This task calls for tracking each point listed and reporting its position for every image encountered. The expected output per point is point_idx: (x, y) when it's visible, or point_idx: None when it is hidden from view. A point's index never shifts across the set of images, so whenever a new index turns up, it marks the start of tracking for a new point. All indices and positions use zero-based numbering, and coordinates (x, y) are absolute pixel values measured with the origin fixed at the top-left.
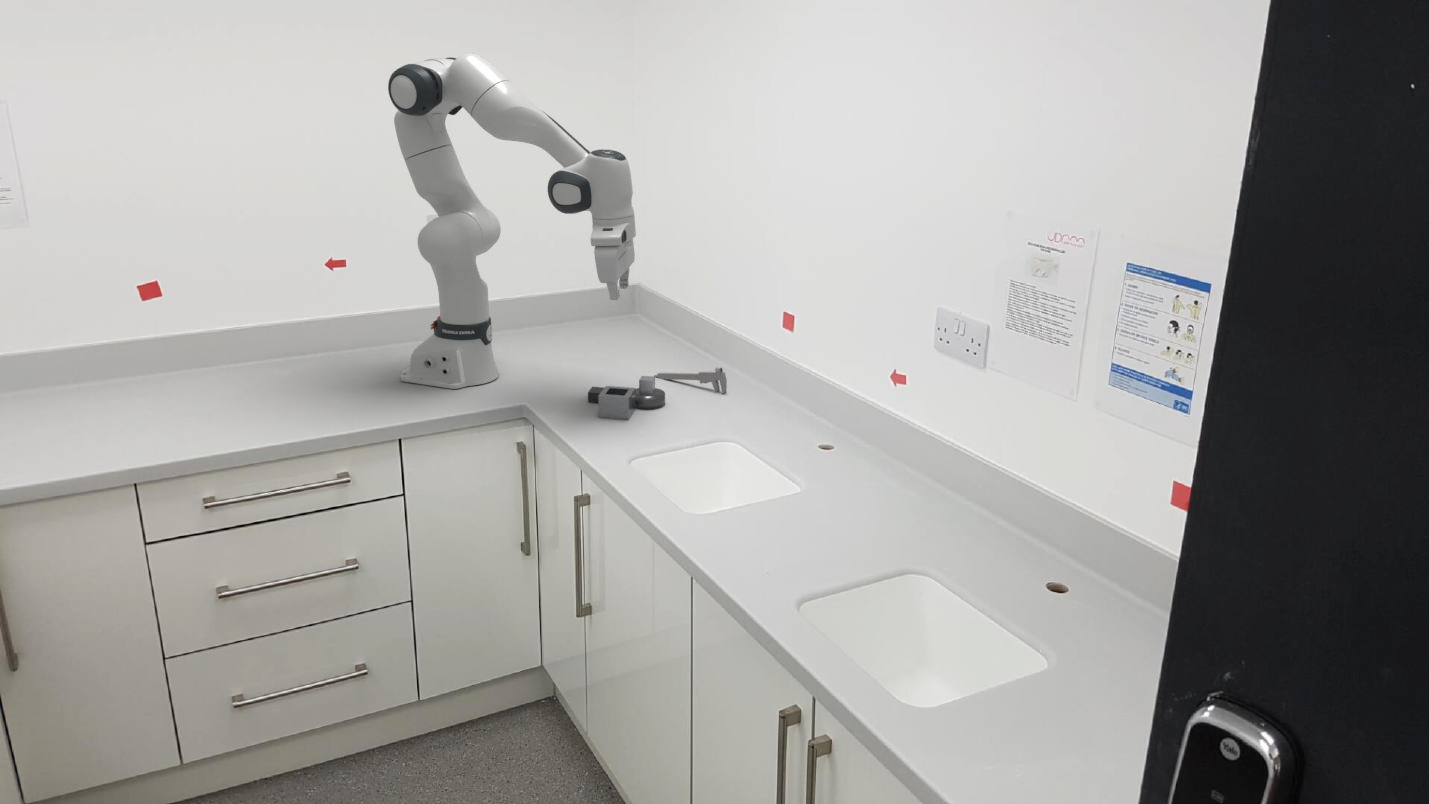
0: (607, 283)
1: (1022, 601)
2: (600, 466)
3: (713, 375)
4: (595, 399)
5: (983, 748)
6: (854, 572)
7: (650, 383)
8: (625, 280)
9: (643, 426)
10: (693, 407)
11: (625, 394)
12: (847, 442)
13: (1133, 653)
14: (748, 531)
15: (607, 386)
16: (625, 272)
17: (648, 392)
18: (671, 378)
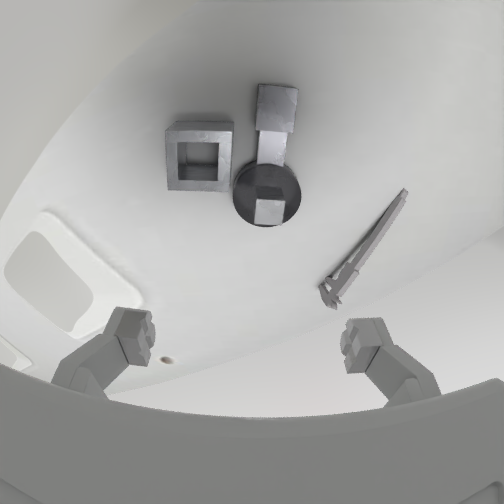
0: (58, 372)
1: None
2: (23, 182)
3: (336, 290)
4: (257, 99)
5: None
6: (13, 342)
7: (254, 217)
8: (354, 368)
9: (156, 200)
10: (257, 256)
11: (185, 180)
12: (184, 371)
13: None
14: (9, 306)
15: (228, 135)
16: (395, 391)
17: (254, 204)
18: (382, 218)
